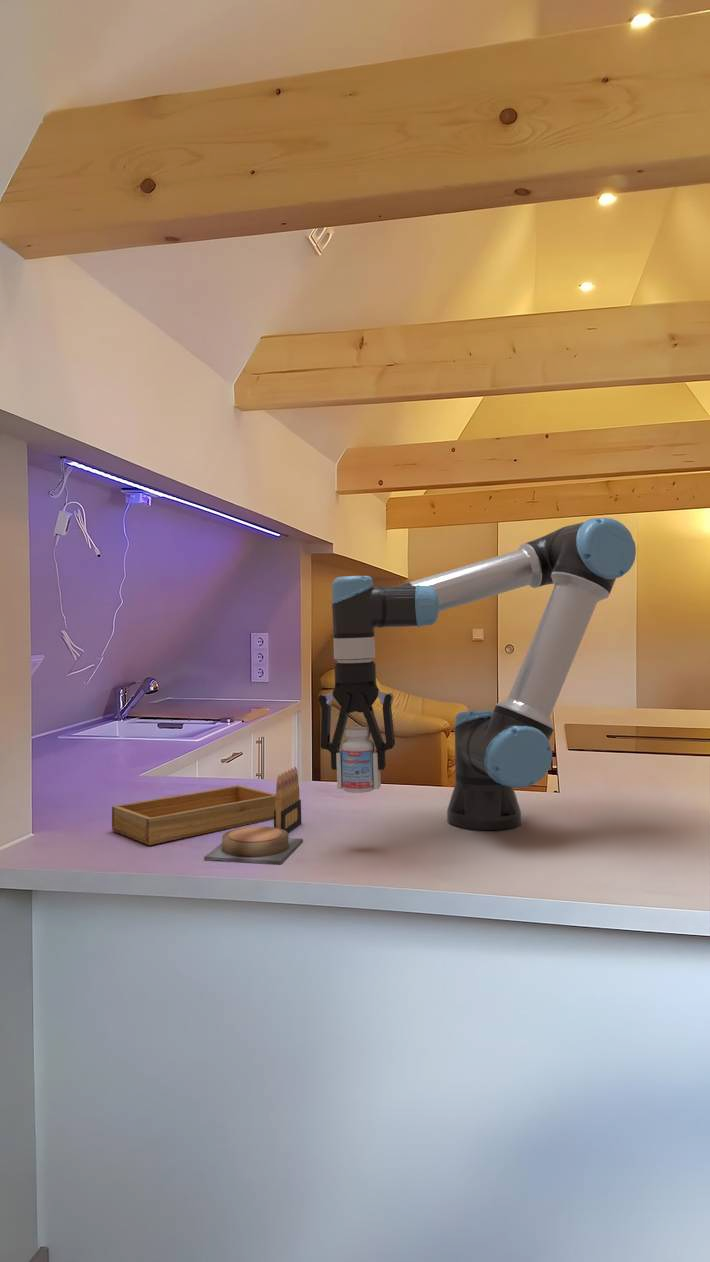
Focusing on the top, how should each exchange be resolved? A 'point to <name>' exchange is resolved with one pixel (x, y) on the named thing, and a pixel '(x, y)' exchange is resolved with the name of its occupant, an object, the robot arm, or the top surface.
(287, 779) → the colored pencil set
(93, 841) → the top surface
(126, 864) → the top surface
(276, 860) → the plinth
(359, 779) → the pill bottle
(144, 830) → the tray
